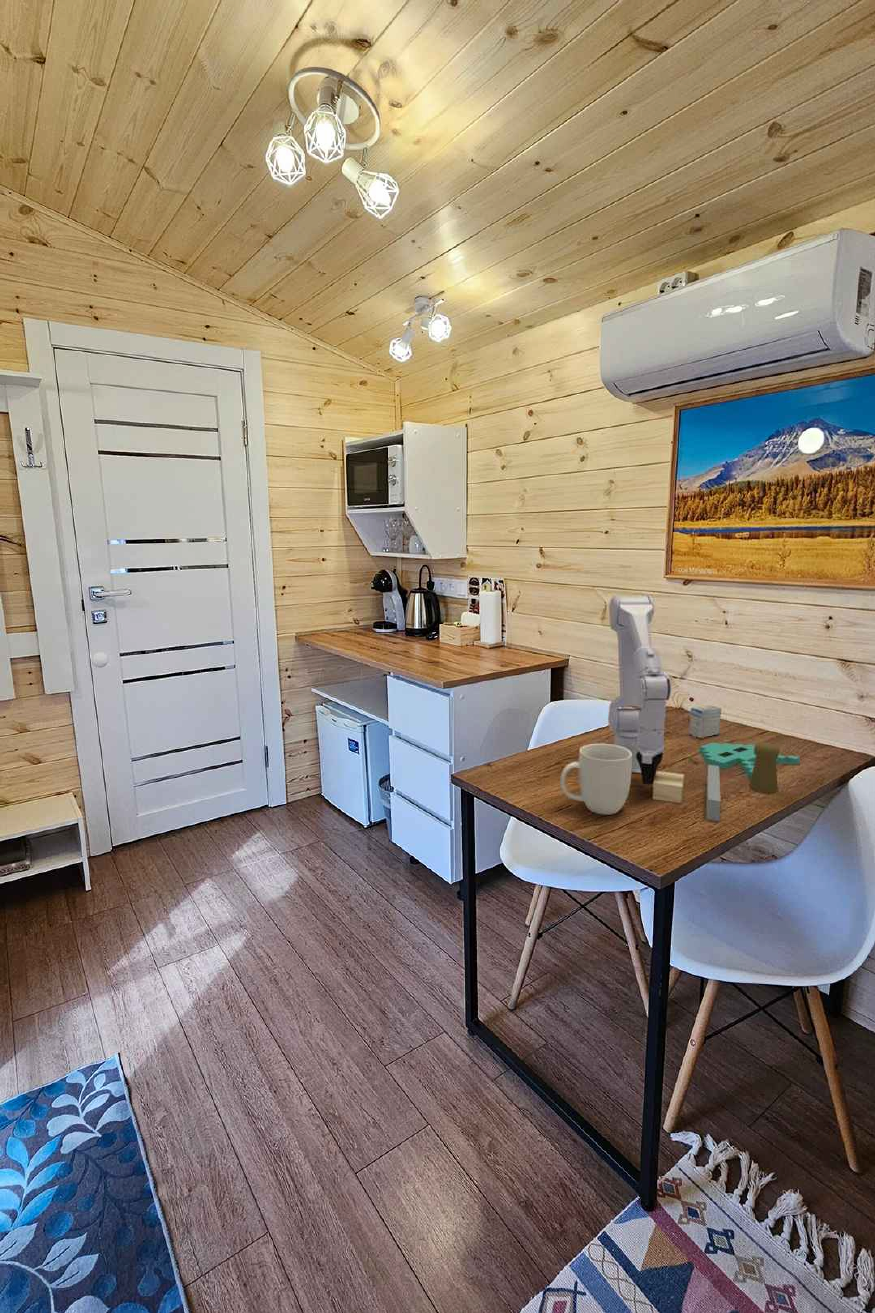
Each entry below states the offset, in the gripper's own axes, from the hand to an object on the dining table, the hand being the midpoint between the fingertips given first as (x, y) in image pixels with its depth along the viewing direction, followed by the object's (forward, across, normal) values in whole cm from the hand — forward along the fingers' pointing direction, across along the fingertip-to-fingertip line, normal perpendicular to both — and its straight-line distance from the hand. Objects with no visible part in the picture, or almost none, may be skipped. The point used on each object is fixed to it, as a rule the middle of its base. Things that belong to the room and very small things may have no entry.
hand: (648, 783), depth 144 cm
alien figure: (+3, -31, +21) cm, 37 cm away
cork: (+2, -12, +25) cm, 28 cm away
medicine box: (+2, -51, +12) cm, 52 cm away
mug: (+2, +14, -9) cm, 17 cm away
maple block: (+2, 0, +4) cm, 5 cm away
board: (+2, 0, +14) cm, 14 cm away
